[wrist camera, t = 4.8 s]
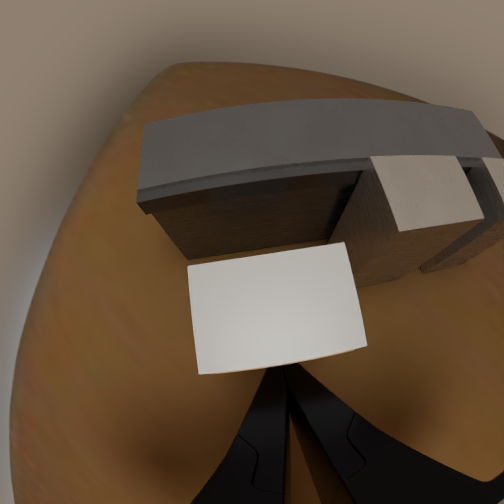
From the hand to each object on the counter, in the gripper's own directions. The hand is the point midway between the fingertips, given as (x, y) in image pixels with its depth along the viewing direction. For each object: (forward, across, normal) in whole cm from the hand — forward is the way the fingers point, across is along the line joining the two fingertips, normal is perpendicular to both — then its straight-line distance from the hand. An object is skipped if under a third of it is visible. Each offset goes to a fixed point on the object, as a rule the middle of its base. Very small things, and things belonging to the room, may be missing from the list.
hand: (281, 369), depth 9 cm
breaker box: (+10, +5, 0) cm, 11 cm away
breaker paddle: (+6, 0, -4) cm, 7 cm away
